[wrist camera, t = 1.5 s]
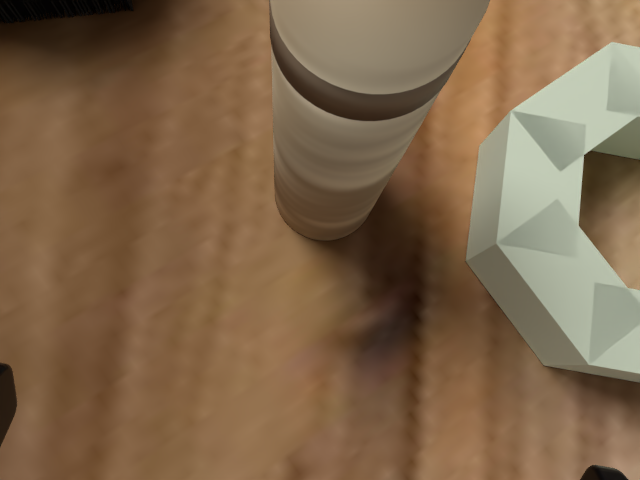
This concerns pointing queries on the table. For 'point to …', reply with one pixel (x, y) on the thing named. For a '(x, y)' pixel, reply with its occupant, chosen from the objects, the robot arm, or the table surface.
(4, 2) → the cpu cooler
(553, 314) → the sage ashtray
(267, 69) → the table surface
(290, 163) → the maple peg
